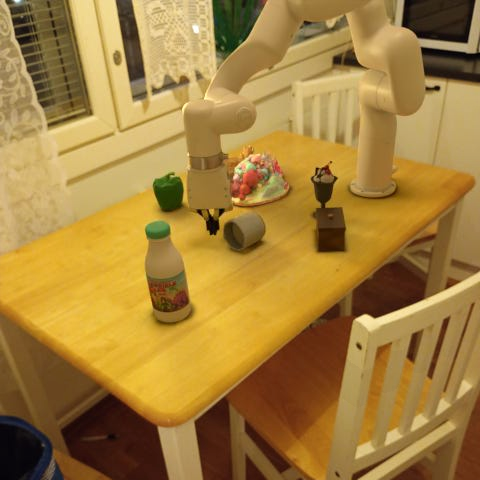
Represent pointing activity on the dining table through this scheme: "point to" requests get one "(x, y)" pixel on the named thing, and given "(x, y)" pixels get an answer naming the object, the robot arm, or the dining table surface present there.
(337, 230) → the tea box
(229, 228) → the ceramic mug
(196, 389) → the dining table surface
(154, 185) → the bell pepper
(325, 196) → the sundae
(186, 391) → the dining table surface
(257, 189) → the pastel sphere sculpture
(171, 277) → the milk bottle
